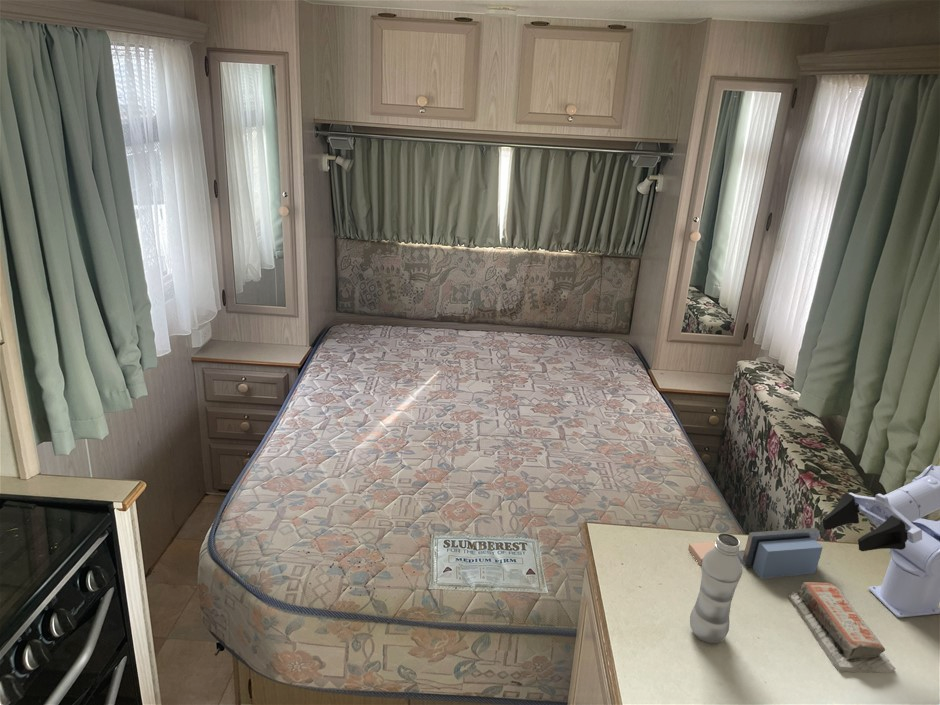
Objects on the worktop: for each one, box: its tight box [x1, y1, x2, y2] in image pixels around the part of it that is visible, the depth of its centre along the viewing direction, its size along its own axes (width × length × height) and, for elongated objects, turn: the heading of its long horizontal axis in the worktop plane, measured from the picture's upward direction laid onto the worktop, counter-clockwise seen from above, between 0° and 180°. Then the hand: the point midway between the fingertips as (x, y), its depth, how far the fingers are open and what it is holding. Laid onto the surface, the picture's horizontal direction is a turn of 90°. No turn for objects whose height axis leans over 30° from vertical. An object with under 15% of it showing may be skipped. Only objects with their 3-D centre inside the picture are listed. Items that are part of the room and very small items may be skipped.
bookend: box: [737, 527, 821, 568], centre depth 140 cm, size 15×4×8 cm, turn 101°
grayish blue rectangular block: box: [752, 538, 824, 579], centre depth 137 cm, size 12×3×6 cm, turn 101°
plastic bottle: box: [689, 532, 743, 644], centre depth 117 cm, size 6×7×20 cm
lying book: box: [687, 541, 716, 566], centre depth 141 cm, size 8×5×2 cm, turn 101°
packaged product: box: [788, 581, 897, 673], centre depth 122 cm, size 18×5×10 cm
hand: (841, 534), depth 117 cm, fingers open, 7 cm apart
